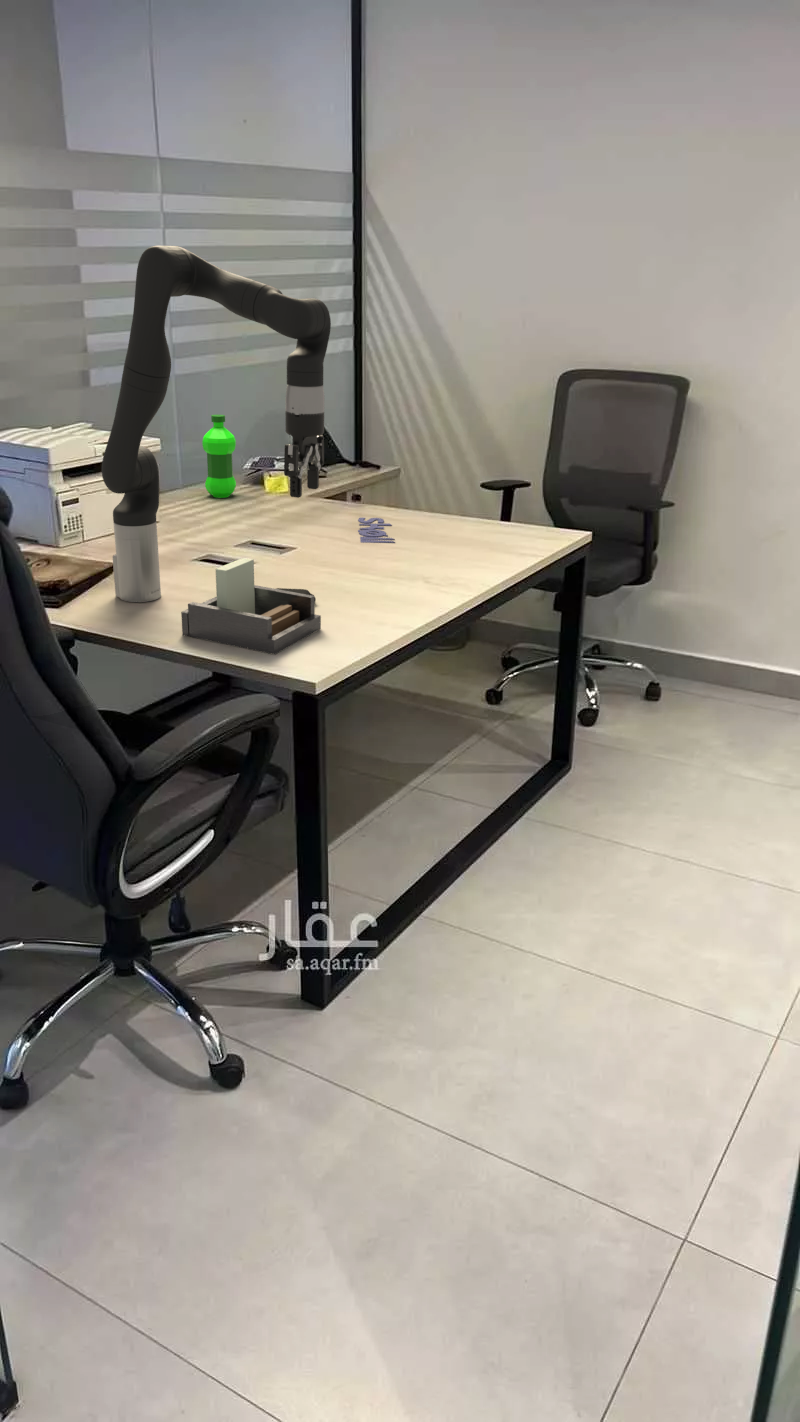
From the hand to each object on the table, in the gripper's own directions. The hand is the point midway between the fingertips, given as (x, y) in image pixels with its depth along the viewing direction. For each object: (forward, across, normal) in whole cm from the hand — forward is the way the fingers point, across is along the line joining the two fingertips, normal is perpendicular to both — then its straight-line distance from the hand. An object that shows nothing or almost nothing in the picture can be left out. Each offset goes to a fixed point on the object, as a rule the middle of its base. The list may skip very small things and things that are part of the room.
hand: (304, 492), depth 213 cm
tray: (+29, +6, -9) cm, 31 cm away
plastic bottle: (+30, -108, -76) cm, 135 cm away
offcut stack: (+29, +6, -4) cm, 30 cm away
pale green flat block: (+29, +5, -13) cm, 32 cm away
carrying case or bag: (+30, -12, -9) cm, 33 cm away
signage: (+30, -88, -16) cm, 94 cm away
